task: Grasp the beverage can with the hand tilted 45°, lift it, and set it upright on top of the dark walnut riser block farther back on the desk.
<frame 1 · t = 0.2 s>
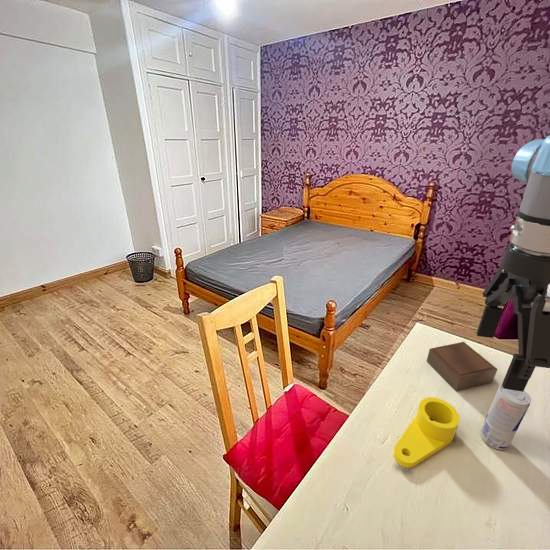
hand: (496, 359, 54), 28 cm above the table, tool pointing down, fingers open, 13 cm apart
crank: (421, 440, 71), on the table
beverage can: (493, 440, 71), on the table
riser: (457, 371, 89), on the table
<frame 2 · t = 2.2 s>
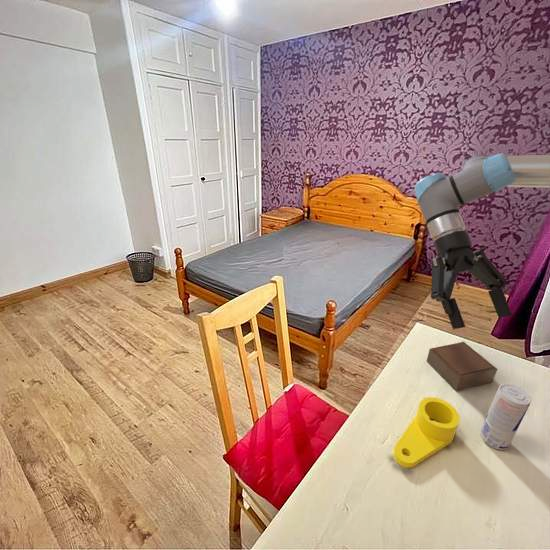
hand: (482, 322, 69), 25 cm above the table, tool tilted 40°, fingers open, 13 cm apart
nothing on the table moved.
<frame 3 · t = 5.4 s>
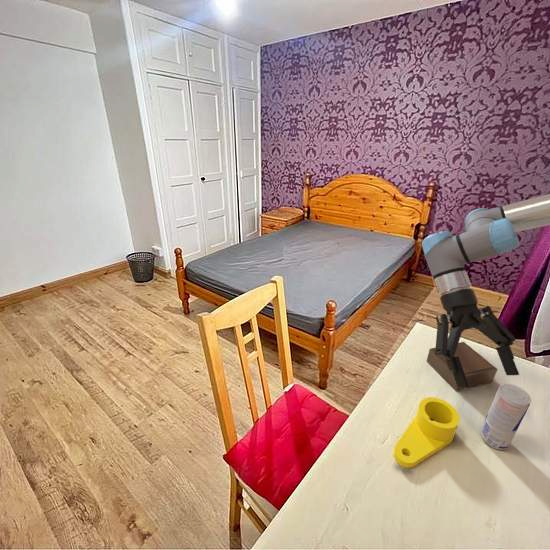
hand: (488, 380, 70), 13 cm above the table, tool tilted 45°, fingers open, 13 cm apart
nothing on the table moved.
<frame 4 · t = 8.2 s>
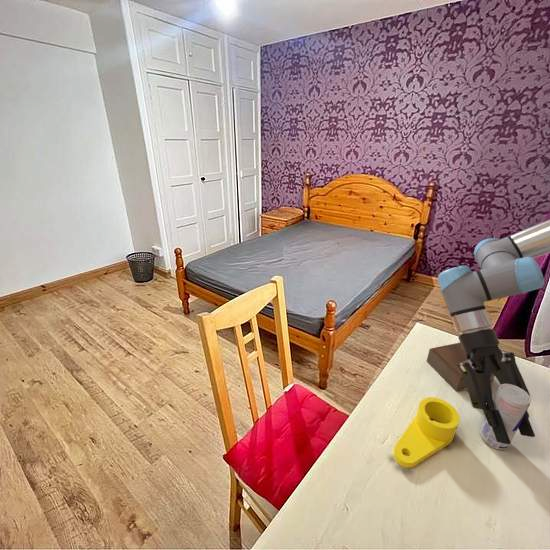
hand: (516, 438, 65), 5 cm above the table, tool tilted 45°, fingers closed on beverage can, 6 cm apart
beverage can: (493, 440, 71), on the table, touching gripper
everything else where it was.
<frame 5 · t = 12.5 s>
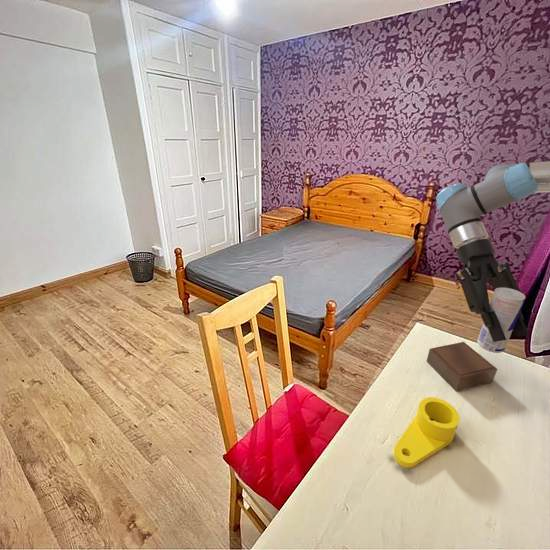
hand: (511, 338, 68), 22 cm above the table, tool tilted 45°, fingers closed on beverage can, 6 cm apart
beverage can: (489, 347, 74), point 17 cm above the table, touching gripper
everything else where it was.
when the fingers open (10 cm above the table, at t = 17.1 s): beverage can stays where it is, resting on riser.
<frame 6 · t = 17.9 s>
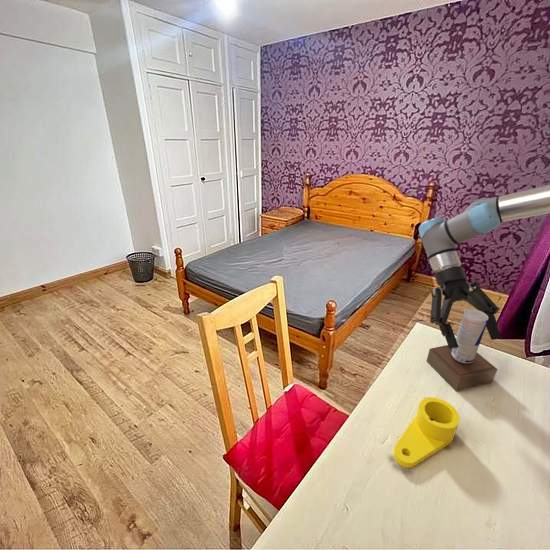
hand: (475, 343, 82), 12 cm above the table, tool tilted 45°, fingers open, 13 cm apart
beverage can: (461, 358, 87), point 5 cm above the table, touching riser
everything else where it was.
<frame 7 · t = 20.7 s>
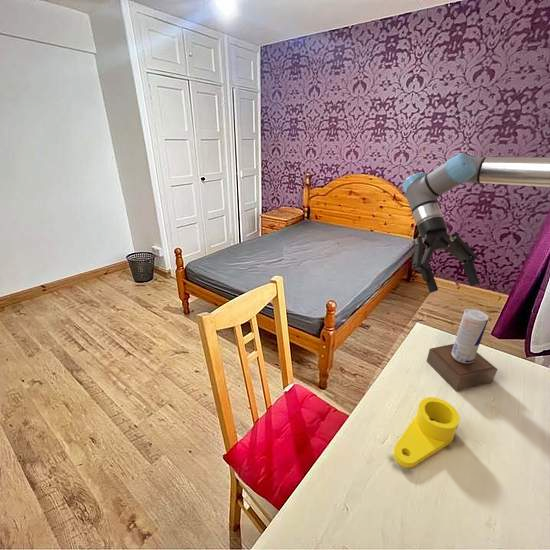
hand: (455, 288, 86), 23 cm above the table, tool tilted 45°, fingers open, 13 cm apart
nothing on the table moved.
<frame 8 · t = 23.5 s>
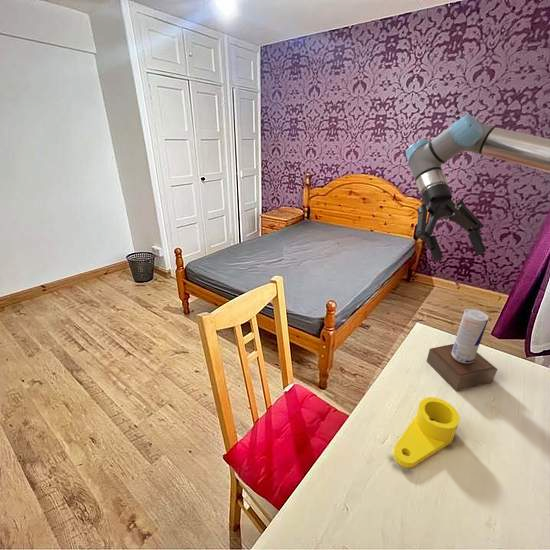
hand: (460, 256, 83), 33 cm above the table, tool tilted 45°, fingers open, 13 cm apart
nothing on the table moved.
at the end: beverage can inside the target area on the riser (0.1 cm from its centre), point 5.0 cm above the riser's base; beverage can tilted 0°; the gripper is holding nothing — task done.
